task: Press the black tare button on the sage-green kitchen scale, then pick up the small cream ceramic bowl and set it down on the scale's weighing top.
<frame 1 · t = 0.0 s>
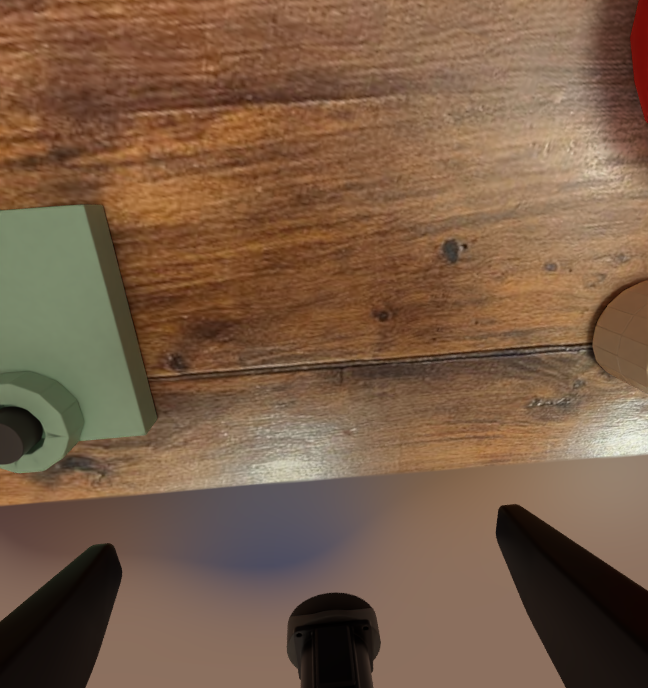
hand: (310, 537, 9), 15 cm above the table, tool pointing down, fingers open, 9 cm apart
scale: (29, 331, 22), on the table
bowl: (636, 327, 24), on the table
tare button: (7, 435, 20), point 4 cm above the table, slide at 0.1 cm
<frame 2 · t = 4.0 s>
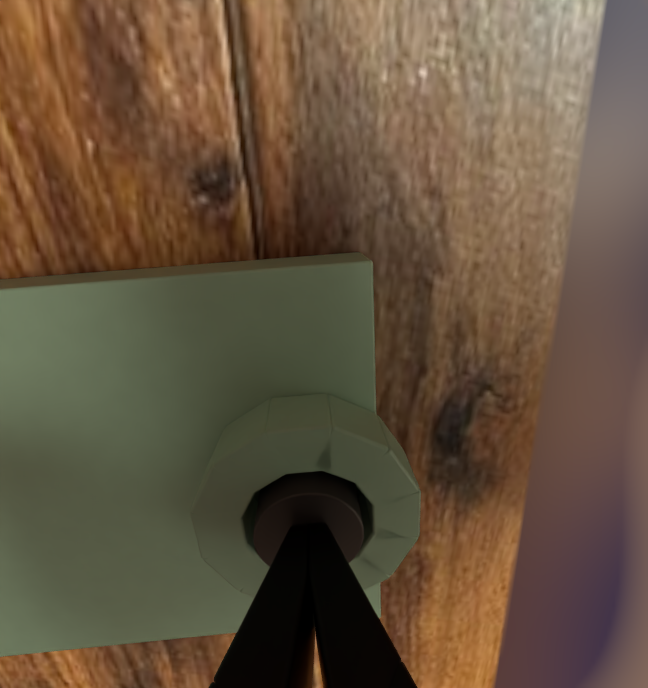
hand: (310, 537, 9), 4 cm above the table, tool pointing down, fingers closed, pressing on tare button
scale: (170, 453, 12), on the table
tare button: (308, 513, 9), point 3 cm above the table, slide at -0.7 cm, touching gripper
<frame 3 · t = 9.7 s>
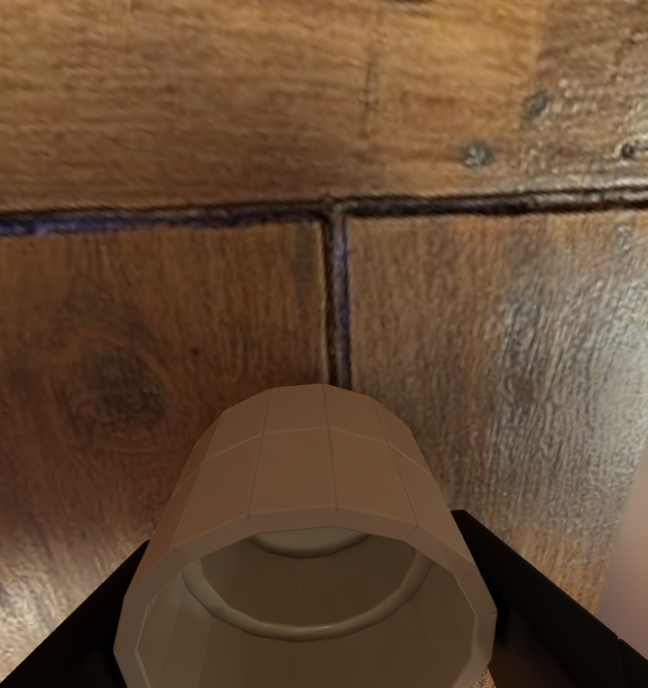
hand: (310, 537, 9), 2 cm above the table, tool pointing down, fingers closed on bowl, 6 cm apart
bowl: (307, 477, 11), on the table, touching gripper
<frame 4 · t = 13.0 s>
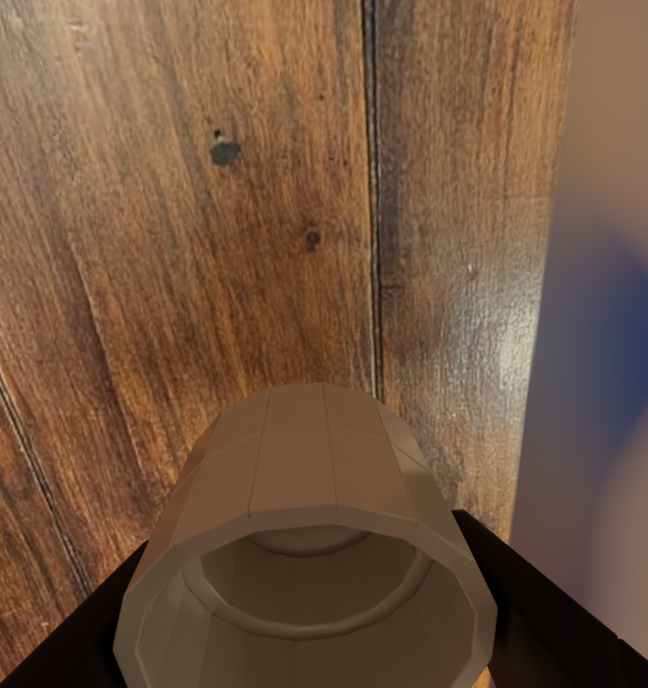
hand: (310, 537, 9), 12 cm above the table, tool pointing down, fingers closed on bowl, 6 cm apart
bowl: (307, 476, 11), point 10 cm above the table, touching gripper
when the fingers open (4 cm above the table, at t = 16.6 s): bowl stays where it is, resting on scale.
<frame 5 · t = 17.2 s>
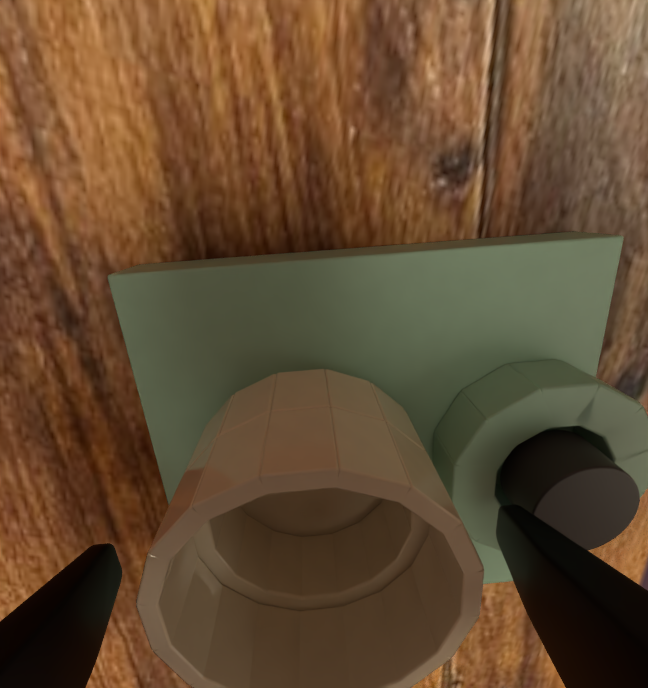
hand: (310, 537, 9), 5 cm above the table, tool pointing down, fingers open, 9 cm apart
scale: (365, 422, 13), on the table
bowl: (310, 459, 11), point 2 cm above the table, touching scale
tare button: (564, 489, 10), point 4 cm above the table, slide at 0.1 cm
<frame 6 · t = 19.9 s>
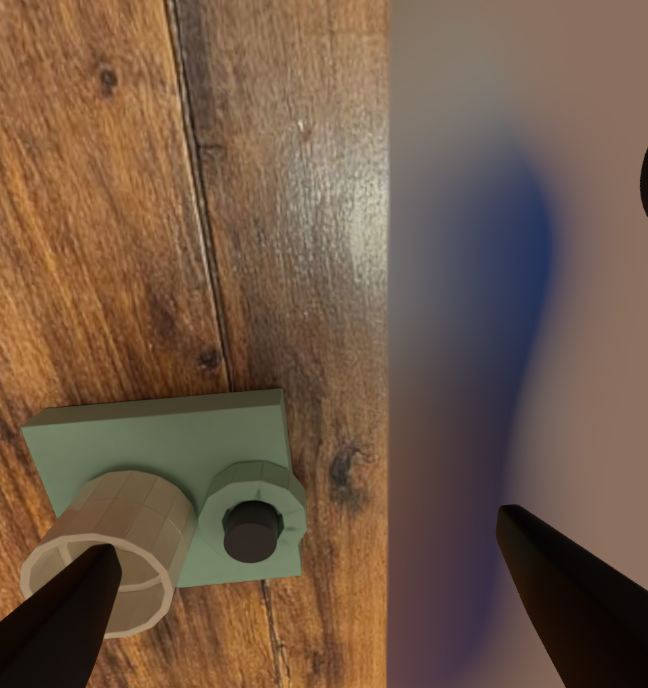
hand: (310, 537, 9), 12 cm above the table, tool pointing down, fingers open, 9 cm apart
scale: (185, 485, 22), on the table
bowl: (139, 511, 21), point 2 cm above the table, touching scale
tare button: (252, 531, 19), point 4 cm above the table, slide at 0.1 cm
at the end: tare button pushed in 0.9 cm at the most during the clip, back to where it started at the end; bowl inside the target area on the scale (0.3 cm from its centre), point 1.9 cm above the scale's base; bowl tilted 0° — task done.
